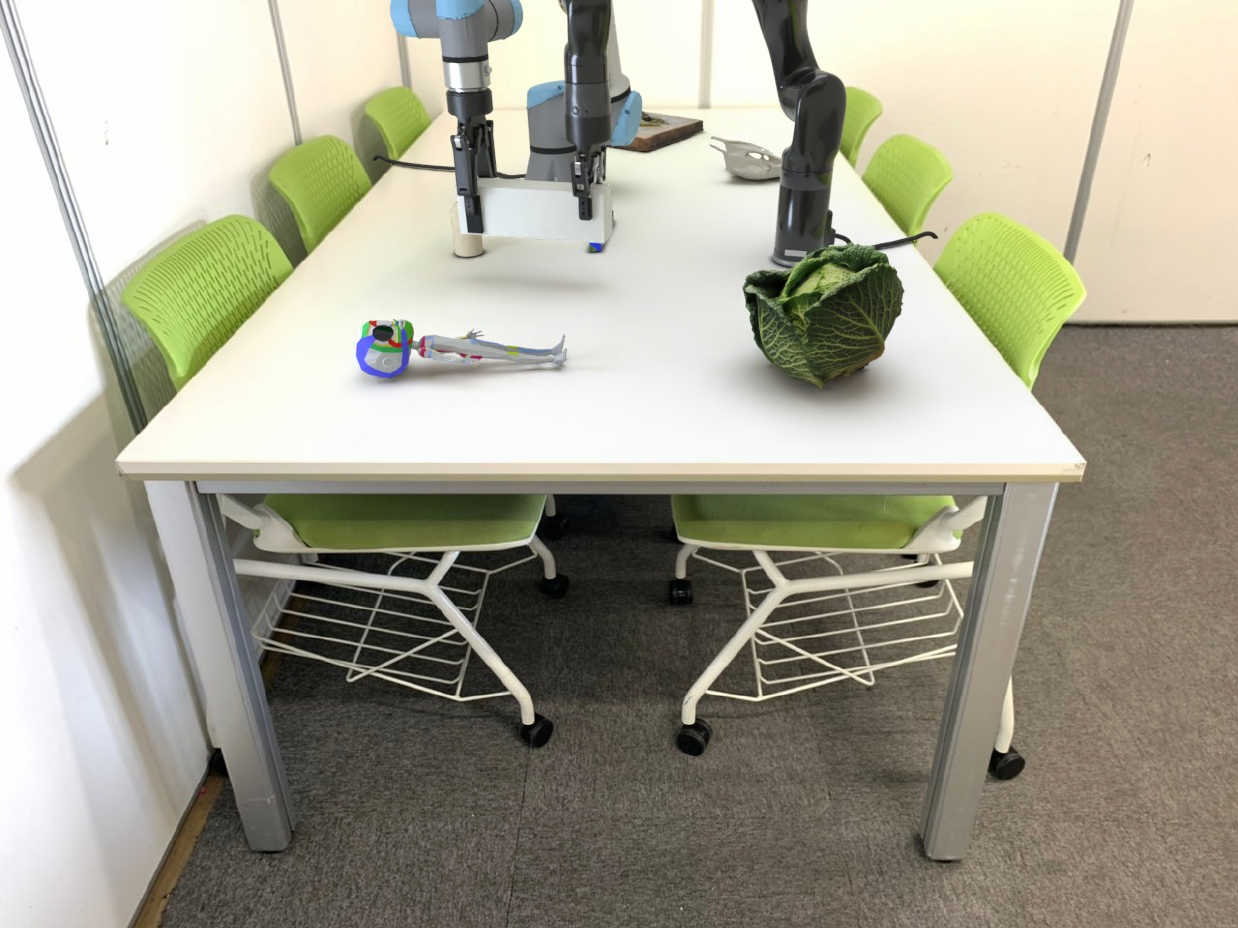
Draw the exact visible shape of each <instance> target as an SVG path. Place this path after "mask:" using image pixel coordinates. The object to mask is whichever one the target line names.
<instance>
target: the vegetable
mask: <svg viewBox="0 0 1238 928" xmlns="http://www.w3.org/2000/svg"><path fill="white" fill-rule="evenodd" d="M744 280H745V282H744V283H743V284H742V292H743V296H744V300H745V308H746V310H747V311H748V312H749V317H748V318H749V323H750V325H751V329H750V330H751V332H752V333H753V341H754V342H755V345H756V347H758V349H759V350H760V351H761V353H762V354H763V355H764V357H765V358H766V359H767V360H768V361H769V363H770V364H773V363H774V364H775V365H776V367H777V368H778V369H779V370H780V371H781V372H782V373H784V374H786V375H787V376H788V377H790V378H792V379H793V380H795V381H800V382H804V383H810V384H812V385H814V386H816V387H817V388H818V389H819V390H822V389H823V387H824V386H828V385H829V384H828V382H827V381H831V380H832V379H833V378H835V377H836V376H838V375H839V376H840V375H841V376H844V377H848V378H849V377H850V378H851V376H852V374H854V372H856V371H859V370H864V368H865V367H867V366H869V365H870V363H872V362H874V361H876V360H878V359H879V358H881V357H882V355H883V354H884V352H885V350H886V343H885V342H886V341H887V339H888V337H889V335H890V333H891V332H892V329H893V328H894V326H895V322H896V320H897V318H898V317H900V316H901V314H902V311H903V308H902V306H903V305H904V302H903V297H904V293H905V292H906V291H905V289H904V287H903V283H902V279H900V277H899V276H898V271H897V269H896V267H895V266H892V265H891V264H890V260H889V257H888V255H887V254H886V253H885V252H882V251H880V250H879V249H875V246H871V245H861V244H859V243H856V244H854V242H852V241H851V242H850V243H848V244H847V243H846V244H845V245H829V247H825V248H819V249H818V250H816V251H814V252H812V253H810V254H808V255H807V256H805V257H804V258H803V259H802V260H801V261H800V262H799V263H796V265H795V266H794V267H789V268H787V269H785V270H778V269H777V270H776V269H771V270H770V269H760V270H756V271H754V272H752V273H750V274H748V275H746V277H745V279H744Z"/></svg>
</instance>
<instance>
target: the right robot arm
mask: <svg viewBox="0 0 1238 928" xmlns="http://www.w3.org/2000/svg"><path fill="white" fill-rule="evenodd" d="M750 1H751V3H752V6H753V9H754V12H755V16H756V18H757V21H758V24H759V27H760V30H761V33H762V34H761V35H762V36H763V40H764V42H765V45H766V47H767V51H768V55H769V59H770V62H771V68H772V72H773V73H772V74H773V77H774V81H775V82H774V83H775V89H776V93H777V98H778V102H779V105H780V109H781V110H782V112H783V114H784V116H786V117H787V118H788V119H789V120H790V121H792V122H793V123H794V127H793V135H792V141H791V144H790V145H789V146H787V147H785V148H784V149H783V150H782V153H781V158H782V159H781V172H780V177H779V184H778V185H779V186H778V199H777V212H776V223H775V224H776V225H775V234H774V235H775V236H774V247H773V253H772V259H773V261H774V262H775V263H777V264H779V265H781V266H785V267H789V268H792V267H794V266H795V265H796V263H799V262H800V261H801V260H802V259H803V258H804V257H805V256H807V255H808V254H810V253H812V252H814V251H816V250H818V249H819V248H825V247H829V246H835V241H836V239H838V240H841V241H843V242H845V244H846V245H847V244H848V243H850V242H852V240H851V239H850V238H849V237H848V236H846V235H844V234H841V233H837V232H836V231H837V229H835V228H834V227H833V226H832V225H833V216H834V213H833V211H832V210H831V209H830V203H831V202H830V201H831V192H832V182H833V174H834V165H835V161H836V157H837V155H838V153H839V151H840V149H841V144H842V139H843V132H844V126H845V120H846V112H847V105H848V104H847V101H848V99H847V97H848V96H847V89H846V86H845V84H844V82H843V80H842V79H841V78H840V77H839V76H838V75H836V74H835V73H831V72H829V71H826V70H822V69H821V68H820V66H819V64H818V61H817V59H816V56H815V53H814V49H813V47H812V44H811V41H810V36H809V31H808V10H809V9H808V8H809V0H750ZM557 2H558V5H559V7H560V9H561V11H562V12H563V13H564V14H565V15H566V21H567V22H566V23H567V24H566V25H567V26H566V27H567V41H566V43H565V45H564V48H563V77H564V79H563V80H565V85H564V116H565V138H566V140H567V142H569V143H571V144H575V145H576V146H577V152H576V154H575V157H574V162H573V161H571V163H570V170H571V179H572V189H573V196H574V197H577V198H578V204H579V219H580V220H585V221H590V220H591V219H592V218H593V214H592V195H593V194H592V191H593V185H594V184H604V182H605V181H606V179H607V149H608V146H606V145H605V144H603V143H606V142H608V141H610V139H611V98H610V89H609V80H608V79H609V75H608V52H607V48H608V41H609V34H610V25H611V14H612V2H611V0H557ZM582 185H583V186H584V190H581V187H582ZM925 237H930V238H932V239H934V240H938V239H939V236H938V235H937V233H935V232H933V231H930V230H929V231H928V230H926V231H923V232H919V233H916V234H915V235H912V236H908V237H903V238H899V239H896V240H891V241H886V242H881V243H875V244H872V245H870V246H875V249H876V250H879V249H883V248H890V247H894V246H898V245H903V244H906V243H910V242H914V241H917V240H920V239H922V238H925Z"/></svg>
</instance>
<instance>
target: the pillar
mask: <svg viewBox="0 0 1238 928" xmlns="http://www.w3.org/2000/svg"><path fill="white" fill-rule="evenodd" d="M614 216H615V215H614V210H613V209H612V224H613V223H614ZM588 243H589V244H588V245H589V246H588V247H589V248H588V250H589V252H601V251H602V249H603V247H604V245H605V243H590V242H588Z"/></svg>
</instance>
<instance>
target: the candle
mask: <svg viewBox="0 0 1238 928" xmlns="http://www.w3.org/2000/svg"><path fill="white" fill-rule="evenodd" d="M449 212H450V213H449V214H450V222H451V228H452V231H451V232H452V239H453V247H454V253H455V255H457V256H459V257H465V258H466V257H467V258H468V257H475V256H479V255H481V254H483V252H484V242H483V235H474V234H461V231H460V222H459V213H458V204H457V200H456V201H455V202H454V203H453V205H452V206H451V207H450V209H449Z"/></svg>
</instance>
